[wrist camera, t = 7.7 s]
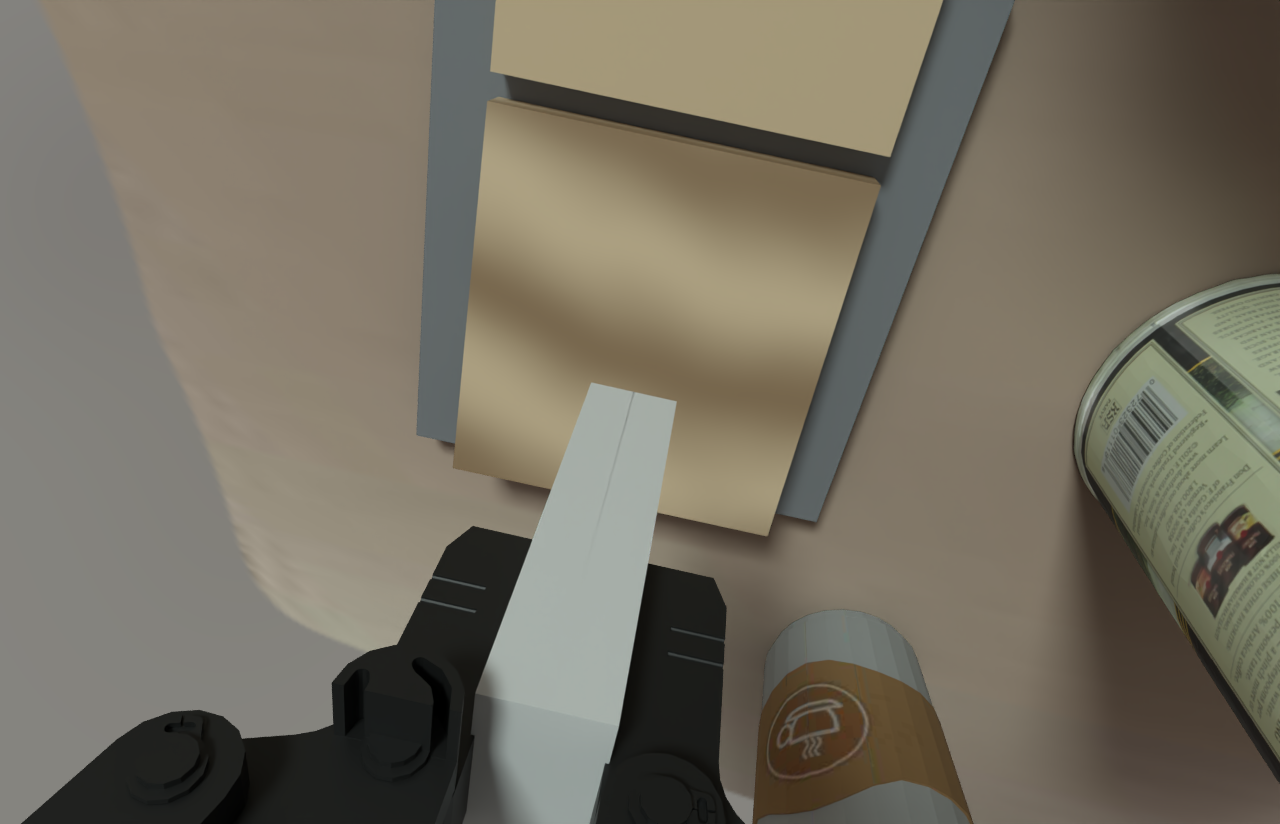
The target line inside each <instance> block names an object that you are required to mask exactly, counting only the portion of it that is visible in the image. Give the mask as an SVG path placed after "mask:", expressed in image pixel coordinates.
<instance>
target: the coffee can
mask: <svg viewBox="0 0 1280 824" xmlns="http://www.w3.org/2000/svg"><path fill="white" fill-rule="evenodd" d="M1074 453H1075V458H1076V461H1077V464H1078V468H1079V471H1080V474H1081V476H1082V478H1083V480H1084V482H1085V484H1086V485H1087V487H1088V488H1089V490H1090V491H1091V493H1092V494H1093V495H1094V497H1095V498H1096V499H1097V500H1098V501H1099V502H1100V504H1101V505H1102V507H1103V508H1104V510H1105V511H1106V513H1107V514H1108V516H1109V517H1110V519H1111V521H1112V522H1113V524H1114V525H1115V527H1116V528H1117V530H1118V531H1119V533H1120V535H1121V536H1122V538H1123V539H1124V541H1125V542H1126V544H1127V545H1128V547H1129V548H1130V550H1131V551H1132V553H1133V555H1134V556H1135V558H1136V560H1137V561H1138V563H1139V564H1140V566H1141V567H1142V569H1143V570H1144V572H1145V573H1146V575H1147V576H1148V578H1149V580H1150V581H1151V583H1152V584H1153V586H1154V588H1155V589H1156V591H1157V593H1158V594H1159V596H1160V597H1161V599H1162V600H1163V602H1164V603H1165V605H1166V606H1167V608H1168V610H1169V611H1170V613H1171V614H1172V616H1173V618H1174V619H1175V621H1176V622H1177V624H1178V625H1179V627H1180V628H1181V630H1182V631H1183V633H1184V635H1185V636H1186V638H1187V639H1188V641H1189V642H1190V644H1191V645H1192V647H1193V649H1194V650H1195V652H1196V653H1197V655H1198V657H1199V658H1200V660H1201V662H1202V663H1203V665H1204V667H1205V668H1206V670H1207V671H1208V673H1209V674H1210V676H1211V677H1212V679H1213V680H1214V682H1215V684H1216V686H1217V687H1218V689H1219V690H1220V692H1221V693H1222V695H1223V696H1224V698H1225V699H1226V701H1227V703H1228V704H1229V706H1230V707H1231V709H1232V710H1233V712H1234V713H1235V715H1236V717H1237V718H1238V720H1239V721H1240V723H1241V724H1242V726H1243V728H1244V729H1245V731H1246V732H1247V734H1248V736H1249V737H1250V739H1251V740H1252V742H1253V743H1254V745H1255V746H1256V748H1257V750H1258V751H1259V753H1260V754H1261V756H1262V757H1263V759H1264V760H1265V762H1266V763H1267V765H1268V767H1269V768H1270V770H1271V771H1272V773H1273V775H1274V776H1275V778H1276V779H1277V780H1278V782H1279V783H1280V274H1268V275H1261V276H1256V277H1251V278H1244V279H1237V280H1233V281H1229V282H1227V283H1224V284H1222V285H1219V286H1216V287H1214V288H1211V289H1208V290H1205V291H1202V292H1199V293H1196V294H1194V295H1192V296H1190V297H1188V298H1186V299H1184V300H1181V301H1179V302H1177V303H1175V304H1173V305H1171V306H1170V307H1168V308H1166V309H1165V310H1163V311H1162V312H1160V313H1159V314H1157V315H1155V316H1154V317H1152V318H1151V319H1149V320H1148V321H1146V322H1145V323H1144V324H1142V325H1141V326H1140V327H1138V328H1137V329H1136V330H1135V331H1134V332H1132V333H1131V334H1130V335H1129V336H1128V337H1127V338H1126V339H1125V340H1124V341H1123V342H1121V343H1120V344H1119V345H1118V346H1117V347H1116V348H1115V349H1114V350H1113V351H1112V353H1111V354H1110V356H1109V357H1108V358H1107V359H1106V361H1105V362H1104V363H1103V365H1102V366H1101V368H1100V369H1099V371H1098V372H1097V373H1096V375H1095V376H1094V378H1093V379H1092V381H1091V383H1090V385H1089V387H1088V389H1087V391H1086V393H1085V395H1084V397H1083V399H1082V402H1081V405H1080V408H1079V411H1078V414H1077V419H1076V425H1075V432H1074Z"/></svg>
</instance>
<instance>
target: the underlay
mask: <svg viewBox="0 0 1280 824" xmlns="http://www.w3.org/2000/svg"><path fill="white" fill-rule="evenodd" d="M1014 1H1015V0H435V8H434V32H433V56H432V79H431V103H430V127H429V150H428V174H427V198H426V222H425V245H424V269H423V293H422V316H421V340H420V364H419V387H418V411H417V435H418V436H423V437H427V438H432V439H437V440H441V441H446V442H450V443H455V440H456V429H457V418H458V408H459V397H460V386H461V376H462V365H463V354H464V344H465V333H466V322H467V312H468V301H469V290H470V280H471V269H472V258H473V248H474V237H475V226H476V216H477V205H478V194H479V184H480V173H481V162H482V152H483V141H484V130H485V120H486V109H487V101H489V100H491V99H494V98H496V97H502V98H507V99H512V100H516V101H521V102H526V103H530V104H535V105H540V106H544V107H549V108H554V109H558V110H563V111H568V112H572V113H577V114H582V115H586V116H591V117H596V118H600V119H605V120H610V121H614V122H619V123H624V124H628V125H633V126H638V127H642V128H647V129H652V130H656V131H661V132H666V133H670V134H675V135H680V136H684V137H689V138H693V139H698V140H703V141H707V142H712V143H717V144H721V145H726V146H731V147H735V148H740V149H745V150H749V151H754V152H759V153H763V154H768V155H773V156H777V157H782V158H787V159H791V160H796V161H801V162H805V163H810V164H815V165H819V166H824V167H829V168H833V169H838V170H843V171H847V172H852V173H857V174H861V175H866V176H871V177H874V178H875V179H876V180H877V181H878V183H879V184H880V185H881V187H880V190H879V193H878V197H877V200H876V203H875V206H874V209H873V212H872V215H871V218H870V221H869V224H868V227H867V230H866V234H865V237H864V240H863V243H862V246H861V249H860V252H859V255H858V258H857V261H856V264H855V268H854V271H853V274H852V277H851V280H850V283H849V286H848V289H847V292H846V295H845V298H844V301H843V305H842V308H841V311H840V314H839V317H838V320H837V323H836V326H835V329H834V332H833V335H832V339H831V342H830V345H829V348H828V351H827V354H826V357H825V360H824V363H823V366H822V369H821V372H820V376H819V379H818V382H817V385H816V388H815V391H814V394H813V397H812V400H811V403H810V406H809V410H808V413H807V416H806V419H805V422H804V425H803V428H802V431H801V434H800V437H799V440H798V443H797V447H796V450H795V453H794V456H793V459H792V462H791V465H790V468H789V471H788V474H787V477H786V480H785V484H784V487H783V490H782V493H781V496H780V499H779V502H778V505H777V508H776V511H775V513H777V514H781V515H786V516H791V517H795V518H800V519H804V520H809V521H814V522H817V519H818V516H819V514H820V511H821V509H822V506H823V503H824V501H825V498H826V495H827V493H828V490H829V488H830V485H831V482H832V480H833V477H834V474H835V472H836V469H837V466H838V464H839V461H840V459H841V456H842V453H843V451H844V448H845V445H846V443H847V440H848V438H849V435H850V432H851V430H852V427H853V424H854V422H855V419H856V417H857V414H858V411H859V409H860V406H861V403H862V401H863V398H864V396H865V393H866V390H867V388H868V385H869V382H870V380H871V377H872V374H873V372H874V369H875V367H876V364H877V361H878V359H879V356H880V353H881V351H882V348H883V346H884V343H885V340H886V338H887V335H888V332H889V330H890V327H891V325H892V322H893V319H894V317H895V314H896V311H897V309H898V306H899V304H900V301H901V298H902V296H903V293H904V290H905V288H906V285H907V283H908V280H909V277H910V275H911V272H912V269H913V267H914V264H915V261H916V259H917V256H918V254H919V251H920V248H921V246H922V243H923V240H924V238H925V235H926V233H927V230H928V227H929V225H930V222H931V219H932V217H933V214H934V212H935V209H936V206H937V204H938V201H939V198H940V196H941V193H942V191H943V188H944V185H945V183H946V180H947V177H948V175H949V172H950V169H951V167H952V164H953V162H954V159H955V156H956V154H957V151H958V148H959V146H960V143H961V141H962V138H963V135H964V133H965V130H966V127H967V125H968V122H969V120H970V117H971V114H972V112H973V109H974V106H975V104H976V101H977V99H978V96H979V93H980V91H981V88H982V85H983V83H984V80H985V77H986V75H987V72H988V70H989V67H990V64H991V62H992V59H993V56H994V54H995V51H996V49H997V46H998V43H999V41H1000V38H1001V35H1002V33H1003V30H1004V28H1005V25H1006V22H1007V20H1008V17H1009V14H1010V12H1011V9H1012V7H1013V4H1014Z"/></svg>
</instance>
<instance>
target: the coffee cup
mask: <svg viewBox="0 0 1280 824" xmlns="http://www.w3.org/2000/svg"><path fill="white" fill-rule="evenodd" d="M753 824H973V821H972V818H971V815H970V812H969V809H968V806H967V803H966V800H965V797H964V794H963V791H962V788H961V785H960V781H959V778H958V775H957V772H956V769H955V766H954V763H953V760H952V757H951V754H950V751H949V748H948V745H947V742H946V739H945V736H944V733H943V730H942V727H941V724H940V721H939V719H938V717H937V714H936V712H935V710H934V707H933V706H932V703H931V699H930V696H929V693H928V690H927V687H926V684H925V681H924V678H923V675H922V672H921V669H920V666H919V663H918V660H917V657H916V655H915V653H914V650H913V648H912V646H911V645H910V644H909V643H908V642H907V641H906V640H905V639H904V637H903V636H902V635H901V634H899V633H898V632H897V631H896V630H895V629H894V628H893V627H892V626H891V625H889V624H888V623H886V622H884V621H883V620H881V619H880V618H877V617H875V616H872V615H869V614H866V613H863V612H858V611H850V610H828V611H822V612H818V613H814V614H810V615H807V616H805V617H803V618H801V619H799V620H797V621H795V622H793V623H792V624H790V625H789V626H788V627H787V628H786V629H785V630H783V631H782V632H781V634H780V635H779V637H778V638H777V640H776V641H775V642H774V644H773V646H772V647H771V649H770V650H769V652H768V654H767V658H766V663H765V668H764V685H763V701H762V714H761V719H760V724H759V732H758V747H757V762H756V778H755V793H754V808H753Z"/></svg>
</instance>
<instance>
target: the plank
mask: <svg viewBox="0 0 1280 824" xmlns="http://www.w3.org/2000/svg"><path fill="white" fill-rule="evenodd" d="M880 187H881V185H880V184H879V183H878V181H877V180H876V179H875V178H874V177H871V176H866V175H861V174H857V173H852V172H847V171H843V170H838V169H833V168H829V167H824V166H819V165H815V164H810V163H805V162H801V161H796V160H791V159H787V158H782V157H777V156H773V155H768V154H763V153H759V152H754V151H749V150H745V149H740V148H735V147H731V146H726V145H721V144H717V143H712V142H707V141H703V140H698V139H693V138H689V137H684V136H680V135H675V134H670V133H666V132H661V131H656V130H652V129H647V128H642V127H638V126H633V125H628V124H624V123H619V122H614V121H610V120H605V119H600V118H596V117H591V116H586V115H582V114H577V113H572V112H568V111H563V110H558V109H554V108H549V107H544V106H540V105H535V104H530V103H526V102H521V101H516V100H512V99H507V98H502V97H496V98H494V99H491V100H489V101H487V109H486V120H485V130H484V141H483V152H482V162H481V173H480V184H479V194H478V205H477V216H476V226H475V237H474V248H473V258H472V269H471V280H470V290H469V301H468V312H467V322H466V333H465V344H464V354H463V365H462V376H461V386H460V397H459V408H458V418H457V429H456V440H455V450H454V461H453V468H455V469H460V470H464V471H469V472H473V473H478V474H483V475H487V476H492V477H496V478H501V479H506V480H510V481H515V482H519V483H524V484H529V485H533V486H538V487H542V488H547V489H552V486H553V484H554V481H555V478H556V476H557V473H558V470H559V468H560V465H561V462H562V460H563V457H564V454H565V451H566V449H567V446H568V443H569V441H570V438H571V435H572V433H573V430H574V427H575V425H576V422H577V419H578V417H579V414H580V411H581V409H582V406H583V403H584V401H585V398H586V395H587V393H588V390H589V387H590V385H591V382H592V383H596V384H601V385H605V386H610V387H614V388H619V389H623V390H628V391H632V392H637V393H641V394H646V395H650V396H655V397H659V398H664V399H668V400H672V401H677V403H676V409H675V414H674V420H673V426H672V431H671V437H670V442H669V448H668V454H667V459H666V465H665V470H664V476H663V482H662V487H661V493H660V499H659V504H658V510H657V513H662V514H666V515H671V516H676V517H680V518H685V519H689V520H694V521H699V522H703V523H708V524H712V525H717V526H721V527H726V528H731V529H735V530H740V531H744V532H749V533H754V534H758V535H763V536H768V533H769V530H770V527H771V524H772V521H773V518H774V514H775V511H776V508H777V505H778V502H779V499H780V496H781V493H782V490H783V487H784V484H785V480H786V477H787V474H788V471H789V468H790V465H791V462H792V459H793V456H794V453H795V450H796V447H797V443H798V440H799V437H800V434H801V431H802V428H803V425H804V422H805V419H806V416H807V413H808V410H809V406H810V403H811V400H812V397H813V394H814V391H815V388H816V385H817V382H818V379H819V376H820V372H821V369H822V366H823V363H824V360H825V357H826V354H827V351H828V348H829V345H830V342H831V339H832V335H833V332H834V329H835V326H836V323H837V320H838V317H839V314H840V311H841V308H842V305H843V301H844V298H845V295H846V292H847V289H848V286H849V283H850V280H851V277H852V274H853V271H854V268H855V264H856V261H857V258H858V255H859V252H860V249H861V246H862V243H863V240H864V237H865V234H866V230H867V227H868V224H869V221H870V218H871V215H872V212H873V209H874V206H875V203H876V200H877V197H878V193H879V190H880Z"/></svg>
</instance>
